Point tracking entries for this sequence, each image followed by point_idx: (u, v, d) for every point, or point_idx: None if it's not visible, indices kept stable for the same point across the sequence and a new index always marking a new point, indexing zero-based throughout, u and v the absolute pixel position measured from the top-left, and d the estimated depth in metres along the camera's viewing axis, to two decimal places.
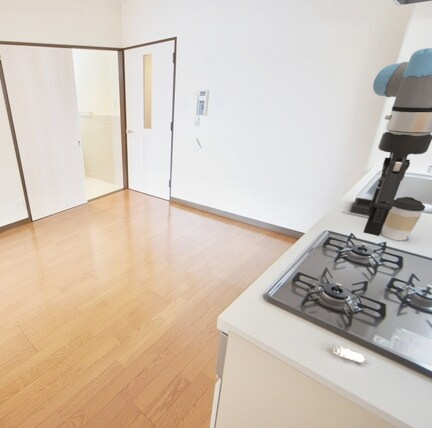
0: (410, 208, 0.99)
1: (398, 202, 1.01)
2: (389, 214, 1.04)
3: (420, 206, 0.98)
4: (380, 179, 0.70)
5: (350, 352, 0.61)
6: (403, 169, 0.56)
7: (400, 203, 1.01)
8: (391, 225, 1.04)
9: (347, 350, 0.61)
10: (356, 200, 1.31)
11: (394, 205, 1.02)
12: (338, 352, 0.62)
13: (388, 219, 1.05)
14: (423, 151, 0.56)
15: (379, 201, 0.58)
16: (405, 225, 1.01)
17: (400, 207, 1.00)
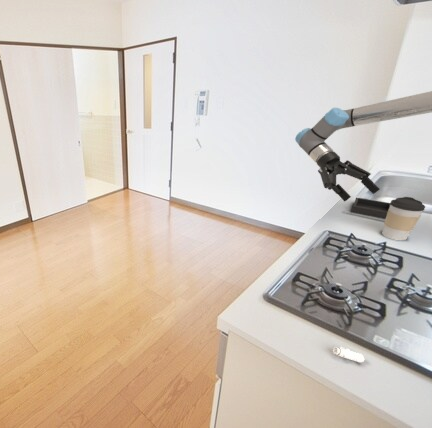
0: (410, 208, 0.99)
1: (398, 202, 1.01)
2: (389, 214, 1.04)
3: (420, 206, 0.98)
4: None
5: (350, 352, 0.61)
6: (322, 169, 1.14)
7: (400, 203, 1.01)
8: (391, 225, 1.04)
9: (347, 350, 0.61)
10: (356, 200, 1.31)
11: (394, 205, 1.02)
12: (338, 352, 0.62)
13: (388, 219, 1.05)
14: (331, 158, 1.14)
15: (324, 185, 1.11)
16: (405, 225, 1.01)
17: (400, 207, 1.00)
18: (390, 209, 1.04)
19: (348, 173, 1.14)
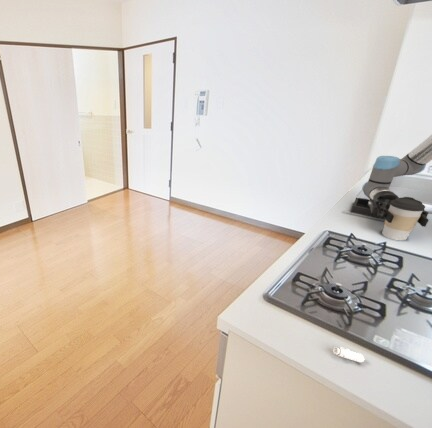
0: (410, 208, 0.99)
1: (398, 202, 1.01)
2: None
3: (420, 206, 0.98)
4: None
5: (350, 352, 0.61)
6: (370, 200, 1.15)
7: (400, 203, 1.01)
8: (391, 225, 1.04)
9: (347, 350, 0.61)
10: (356, 200, 1.31)
11: (394, 205, 1.02)
12: (338, 352, 0.62)
13: None
14: (383, 194, 1.15)
15: (371, 211, 1.10)
16: (405, 225, 1.01)
17: (400, 207, 1.00)
18: (390, 209, 1.04)
19: None
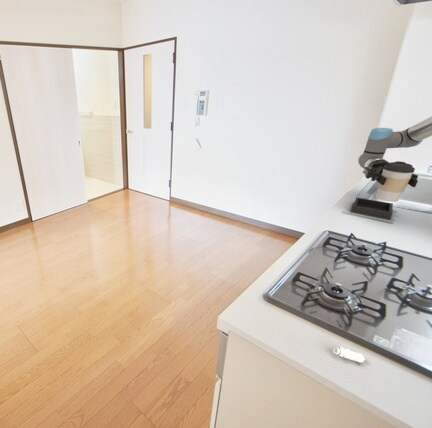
0: (401, 170, 1.07)
1: (390, 165, 1.10)
2: None
3: (410, 168, 1.07)
4: None
5: (350, 352, 0.61)
6: (365, 168, 1.23)
7: (392, 166, 1.09)
8: (384, 188, 1.13)
9: (347, 350, 0.61)
10: (356, 200, 1.31)
11: (387, 169, 1.11)
12: (338, 352, 0.62)
13: None
14: (377, 162, 1.24)
15: (366, 176, 1.19)
16: (397, 187, 1.10)
17: (392, 170, 1.09)
18: (383, 173, 1.13)
19: None
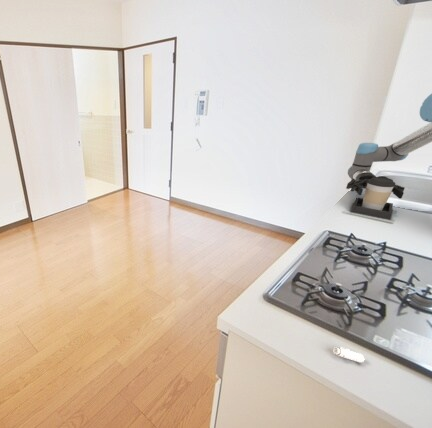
0: (383, 184, 1.18)
1: (373, 180, 1.21)
2: (366, 191, 1.24)
3: (391, 183, 1.18)
4: None
5: (350, 352, 0.61)
6: (351, 179, 1.35)
7: (375, 181, 1.21)
8: (368, 200, 1.24)
9: (347, 350, 0.61)
10: (356, 200, 1.31)
11: (370, 183, 1.22)
12: (338, 352, 0.62)
13: (366, 195, 1.25)
14: (363, 174, 1.35)
15: (347, 187, 1.32)
16: (379, 199, 1.21)
17: (375, 184, 1.20)
18: (367, 186, 1.24)
19: None
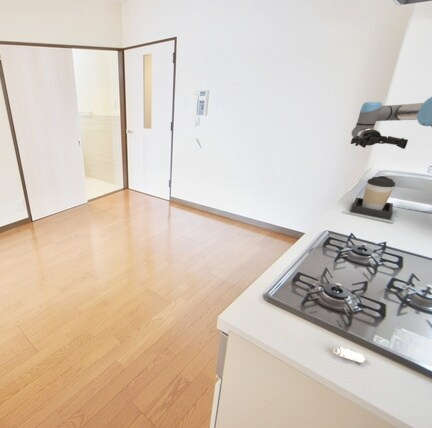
0: (383, 184, 1.18)
1: (373, 180, 1.21)
2: (366, 191, 1.24)
3: (391, 183, 1.18)
4: None
5: (350, 352, 0.61)
6: (355, 136, 1.38)
7: (375, 181, 1.21)
8: (368, 200, 1.24)
9: (347, 350, 0.61)
10: (356, 200, 1.31)
11: (370, 183, 1.22)
12: (338, 352, 0.62)
13: (366, 195, 1.25)
14: (367, 131, 1.38)
15: (351, 142, 1.35)
16: (379, 199, 1.21)
17: (375, 184, 1.20)
18: (367, 186, 1.24)
19: (385, 141, 1.31)
